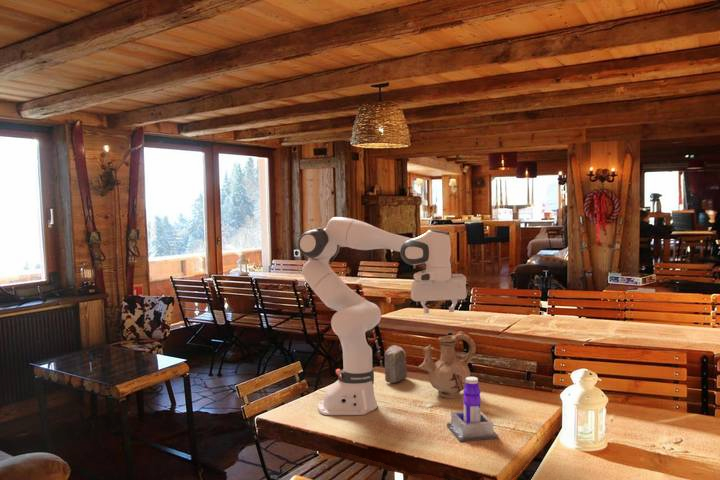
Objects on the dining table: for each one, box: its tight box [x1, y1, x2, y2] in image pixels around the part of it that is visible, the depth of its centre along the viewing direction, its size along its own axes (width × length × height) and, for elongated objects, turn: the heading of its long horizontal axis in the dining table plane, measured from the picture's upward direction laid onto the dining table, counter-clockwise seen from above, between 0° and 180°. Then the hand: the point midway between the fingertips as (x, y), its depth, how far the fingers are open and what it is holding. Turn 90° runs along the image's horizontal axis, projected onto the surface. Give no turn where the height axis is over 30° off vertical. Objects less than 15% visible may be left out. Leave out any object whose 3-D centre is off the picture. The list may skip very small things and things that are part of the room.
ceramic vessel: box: [417, 333, 477, 399], centre depth 221 cm, size 18×19×25 cm
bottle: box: [462, 376, 482, 423], centre depth 183 cm, size 7×6×17 cm
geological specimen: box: [384, 344, 408, 384], centre depth 241 cm, size 11×6×15 cm, turn 147°
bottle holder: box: [446, 410, 499, 443], centre depth 184 cm, size 13×13×5 cm
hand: (439, 312), depth 200 cm, fingers open, 8 cm apart
